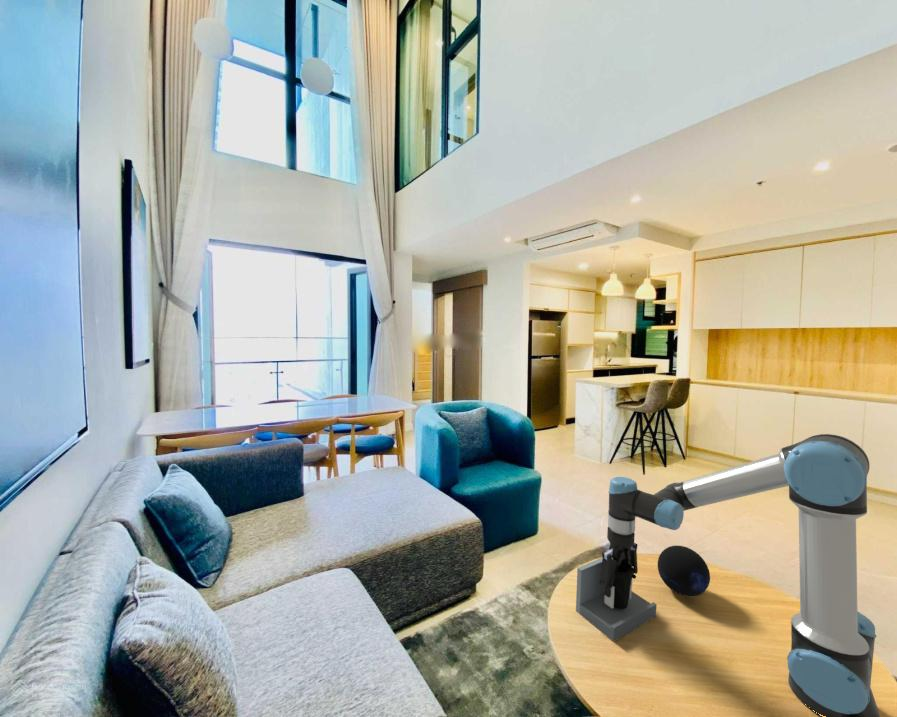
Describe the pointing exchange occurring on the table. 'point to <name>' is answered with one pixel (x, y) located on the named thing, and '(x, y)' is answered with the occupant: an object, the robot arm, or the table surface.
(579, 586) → the shelf
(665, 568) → the decorative sphere
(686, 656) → the table surface
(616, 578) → the cup
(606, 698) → the table surface
